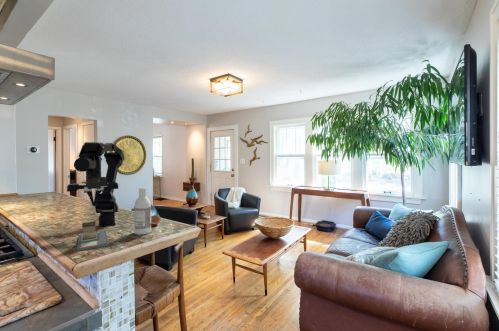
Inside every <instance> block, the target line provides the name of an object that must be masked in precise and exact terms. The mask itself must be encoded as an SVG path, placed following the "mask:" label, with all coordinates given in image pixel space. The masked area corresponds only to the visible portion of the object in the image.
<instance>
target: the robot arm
mask: <svg viewBox="0 0 499 331" xmlns="http://www.w3.org/2000/svg"><path fill="white" fill-rule="evenodd" d="M102 156H103V157H104V159H105V164H107V168H106V172H105V176H102V161H103V158H102ZM124 161H125V155H124V152H123V150H122V149H121V148H120V147H118V146H117V144H116V143H114V142H105V143H104V142H99V141H98V142H95V141H93V142H92V141H91V142H89V141H85V142H84V143H83V145H82V146H81V148H80V151H79V153H78V158H76V159H75V161H74V163H73V167H74V169H75V170H76V171H78V172H79V173H80V172H82V173H84V172H85V184H80V183H68V185H66V192H77V191H79V190H83V193H84V194H87V196H88V198H89V199H90V203H91V205H92V207H94V208H95V209H94V210H95V214H99V215H98V226H100V228H101V227H108V226H115V225H116V217H115V216H116V213H119V205H118V203H117V202H116V200H117V199H116V196H115V195H114V192H115V190H118V189H119V183H118V182H117V176H118V170H119V168H120V167H121V166H122V165H123V163H124ZM93 189H95V190H94V196H93Z"/></svg>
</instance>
